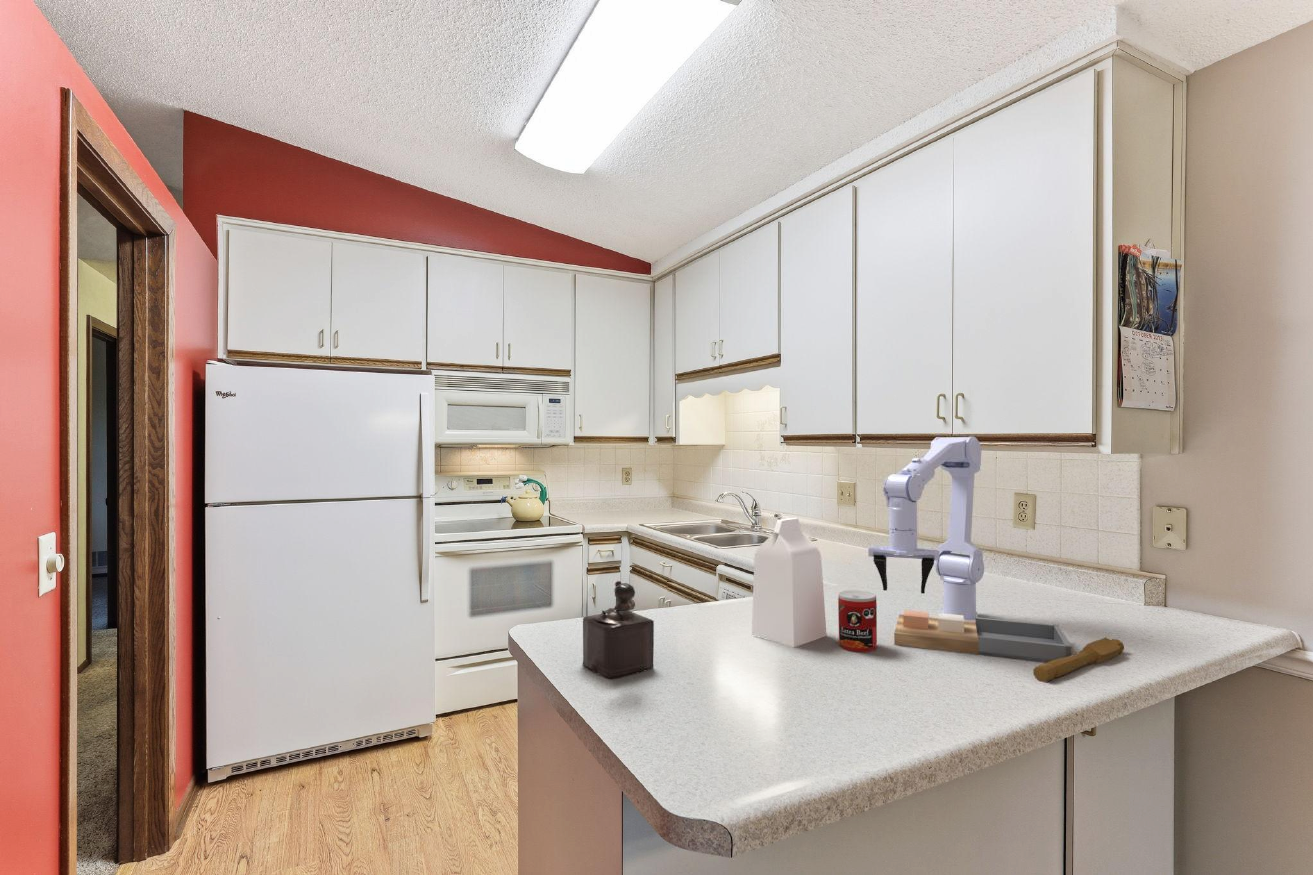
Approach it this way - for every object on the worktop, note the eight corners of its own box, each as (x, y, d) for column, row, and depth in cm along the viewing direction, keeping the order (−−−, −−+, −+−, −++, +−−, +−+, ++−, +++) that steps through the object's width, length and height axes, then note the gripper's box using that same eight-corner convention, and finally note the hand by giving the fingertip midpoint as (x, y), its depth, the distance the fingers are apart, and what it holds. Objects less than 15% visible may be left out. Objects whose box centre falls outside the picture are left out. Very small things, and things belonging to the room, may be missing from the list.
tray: (975, 632, 144) (975, 617, 144) (1058, 641, 138) (1058, 624, 138) (978, 654, 130) (978, 637, 130) (1071, 665, 123) (1071, 646, 123)
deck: (899, 624, 151) (899, 614, 151) (975, 632, 144) (975, 621, 144) (894, 644, 136) (894, 632, 136) (978, 654, 130) (978, 641, 130)
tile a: (904, 620, 145) (904, 609, 145) (928, 623, 143) (928, 612, 143) (903, 626, 141) (903, 615, 141) (928, 629, 139) (928, 617, 139)
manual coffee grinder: (578, 665, 126) (577, 573, 126) (625, 654, 132) (625, 566, 132) (621, 689, 113) (620, 587, 113) (671, 675, 120) (670, 579, 120)
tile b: (938, 624, 143) (938, 613, 143) (963, 626, 140) (963, 615, 140) (938, 630, 138) (938, 618, 138) (964, 633, 136) (964, 621, 136)
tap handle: (1036, 661, 116) (1115, 634, 132) (1028, 674, 117) (1107, 645, 133) (1052, 674, 114) (1130, 644, 129) (1044, 686, 115) (1122, 656, 131)
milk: (793, 647, 135) (792, 523, 136) (751, 635, 144) (750, 519, 144) (826, 635, 143) (825, 519, 143) (784, 624, 152) (783, 514, 152)
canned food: (835, 649, 134) (834, 596, 134) (843, 638, 141) (842, 588, 141) (873, 654, 130) (872, 600, 130) (879, 643, 137) (879, 592, 137)
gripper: (866, 529, 140) (867, 592, 140) (939, 532, 135) (940, 598, 134) (869, 525, 147) (870, 585, 147) (939, 528, 141) (939, 590, 141)
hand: (903, 591), depth 141 cm, fingers open, 7 cm apart
